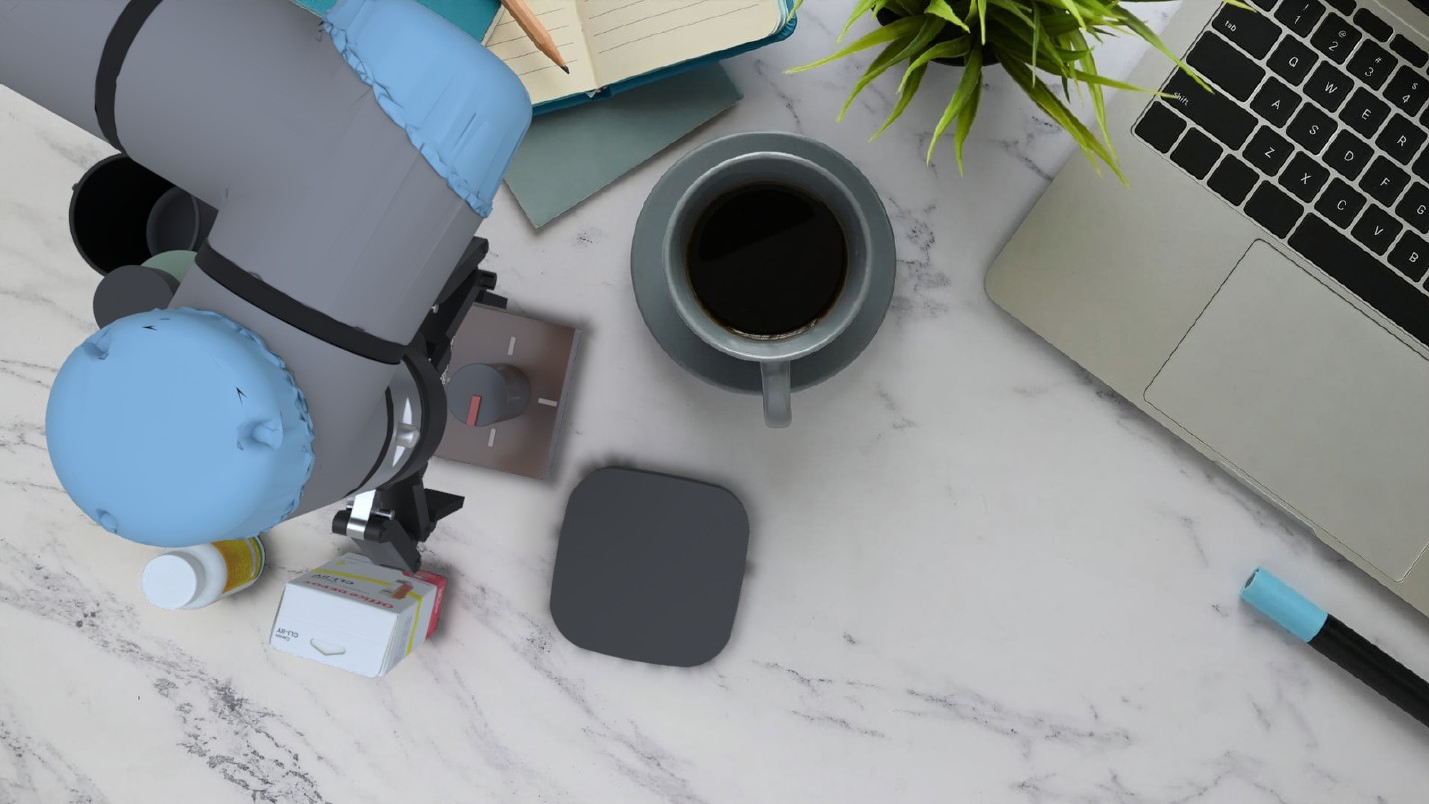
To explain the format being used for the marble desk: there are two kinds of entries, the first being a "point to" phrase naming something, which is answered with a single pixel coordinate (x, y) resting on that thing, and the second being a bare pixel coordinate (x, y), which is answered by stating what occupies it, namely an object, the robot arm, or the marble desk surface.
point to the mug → (133, 215)
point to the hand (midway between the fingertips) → (465, 398)
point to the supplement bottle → (202, 573)
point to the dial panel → (548, 370)
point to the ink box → (357, 615)
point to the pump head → (132, 293)
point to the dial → (487, 393)
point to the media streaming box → (649, 566)
